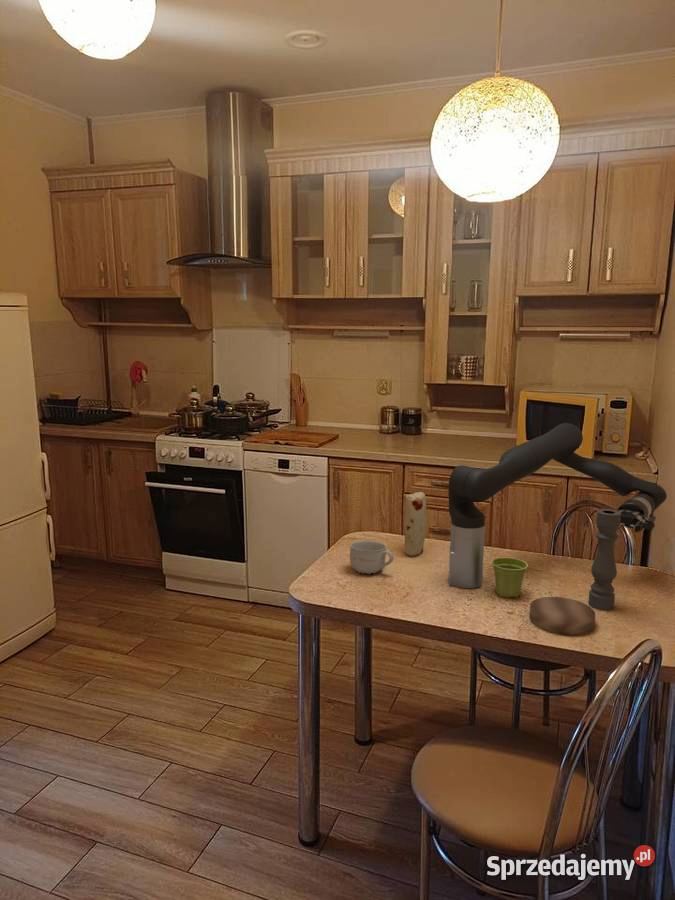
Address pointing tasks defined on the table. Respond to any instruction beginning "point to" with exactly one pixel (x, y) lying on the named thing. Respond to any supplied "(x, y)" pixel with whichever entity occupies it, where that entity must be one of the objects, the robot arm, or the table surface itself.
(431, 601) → the table surface
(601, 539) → the candle holder
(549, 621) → the walnut plinth
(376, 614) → the table surface
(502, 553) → the table surface
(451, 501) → the robot arm
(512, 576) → the plant pot
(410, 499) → the food model
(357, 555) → the teacup
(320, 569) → the table surface
